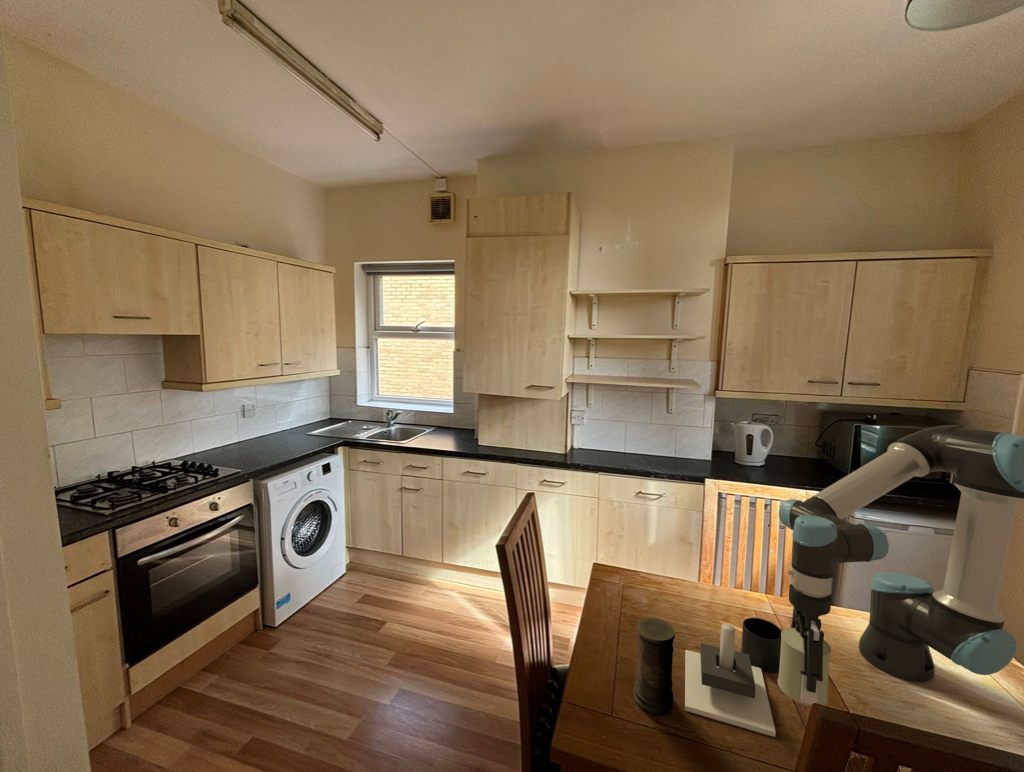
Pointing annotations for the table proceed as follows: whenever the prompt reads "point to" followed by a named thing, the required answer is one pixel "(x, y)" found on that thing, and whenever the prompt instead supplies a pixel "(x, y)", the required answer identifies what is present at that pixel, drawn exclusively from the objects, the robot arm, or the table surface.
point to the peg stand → (723, 702)
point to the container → (654, 666)
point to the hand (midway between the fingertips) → (802, 686)
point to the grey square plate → (727, 672)
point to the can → (799, 666)
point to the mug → (762, 644)
